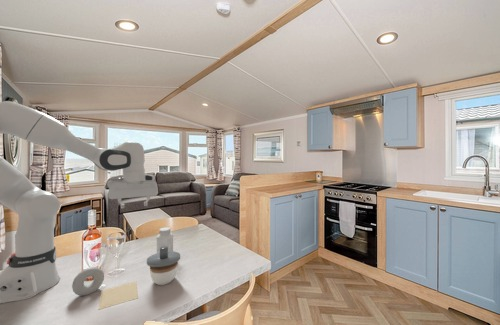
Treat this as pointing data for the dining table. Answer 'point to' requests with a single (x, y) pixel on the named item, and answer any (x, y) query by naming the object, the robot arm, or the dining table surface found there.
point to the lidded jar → (163, 274)
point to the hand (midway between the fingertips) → (134, 206)
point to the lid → (163, 258)
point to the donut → (80, 278)
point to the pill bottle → (165, 239)
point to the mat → (118, 295)
